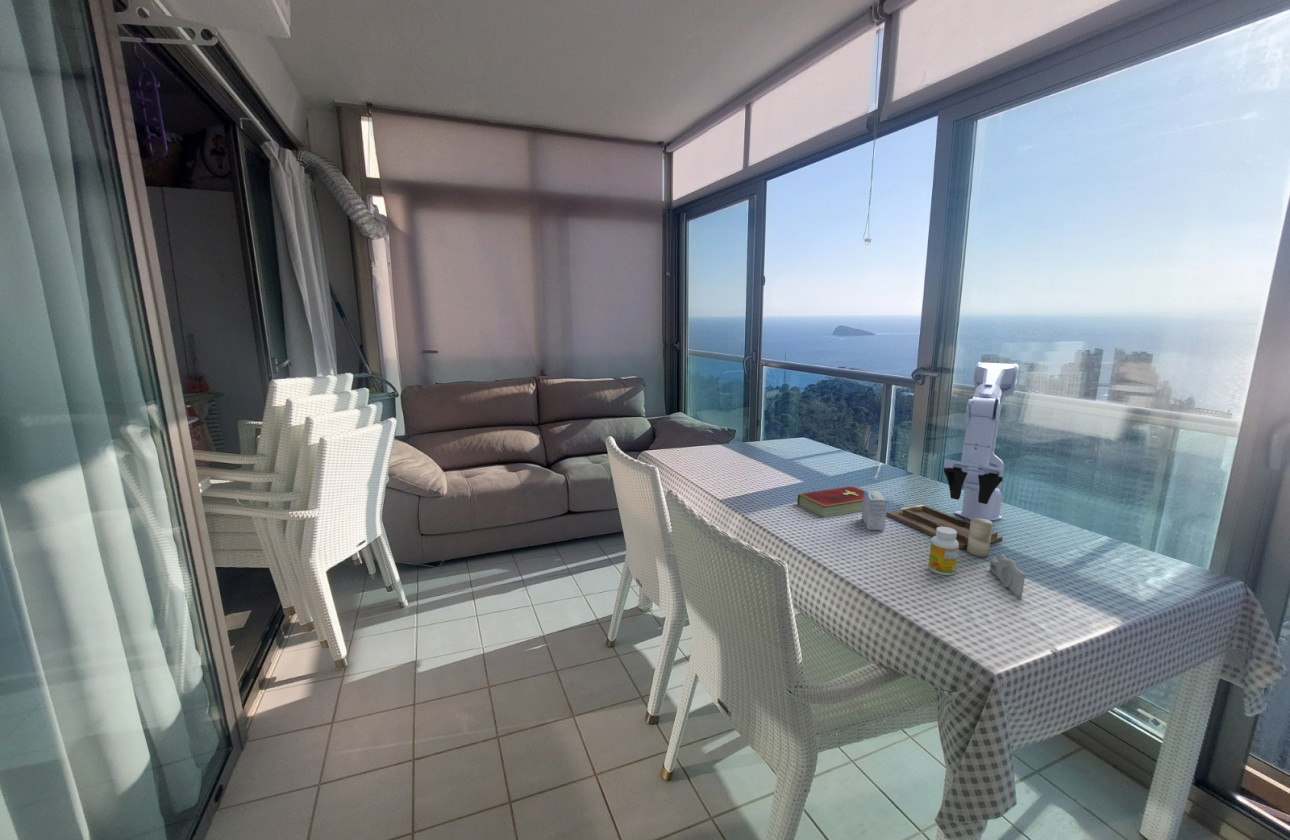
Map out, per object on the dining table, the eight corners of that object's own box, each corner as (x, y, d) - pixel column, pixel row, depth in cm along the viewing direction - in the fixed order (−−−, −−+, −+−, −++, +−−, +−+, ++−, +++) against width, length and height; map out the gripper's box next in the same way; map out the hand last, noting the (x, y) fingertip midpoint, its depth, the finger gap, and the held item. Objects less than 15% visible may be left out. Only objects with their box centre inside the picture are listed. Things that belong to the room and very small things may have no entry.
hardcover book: (797, 505, 159) (797, 492, 158) (851, 497, 166) (852, 484, 166) (823, 519, 148) (824, 505, 147) (880, 509, 155) (881, 496, 155)
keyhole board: (922, 508, 155) (923, 500, 154) (1001, 540, 133) (1003, 531, 132) (886, 515, 150) (887, 507, 149) (962, 549, 128) (963, 539, 127)
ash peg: (975, 547, 129) (979, 517, 127) (993, 554, 125) (997, 523, 123) (962, 550, 128) (966, 519, 126) (979, 557, 123) (984, 526, 122)
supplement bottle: (923, 564, 120) (928, 525, 118) (947, 564, 120) (952, 525, 118) (935, 575, 115) (940, 534, 113) (960, 576, 115) (965, 535, 113)
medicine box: (884, 531, 139) (887, 500, 137) (867, 529, 140) (869, 499, 138) (877, 520, 146) (880, 490, 145) (861, 518, 147) (863, 489, 146)
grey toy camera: (987, 569, 118) (991, 545, 117) (996, 569, 118) (1000, 545, 116) (1015, 596, 106) (1019, 570, 105) (1024, 597, 106) (1029, 571, 105)
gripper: (962, 442, 122) (953, 499, 121) (1017, 451, 123) (1008, 508, 123) (941, 441, 129) (933, 495, 128) (993, 449, 130) (985, 503, 130)
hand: (968, 501), depth 126 cm, fingers open, 7 cm apart
